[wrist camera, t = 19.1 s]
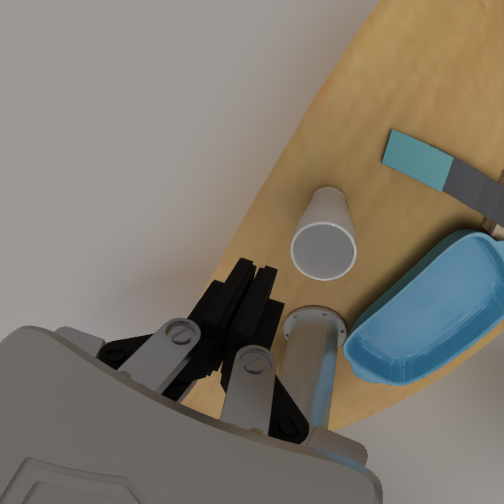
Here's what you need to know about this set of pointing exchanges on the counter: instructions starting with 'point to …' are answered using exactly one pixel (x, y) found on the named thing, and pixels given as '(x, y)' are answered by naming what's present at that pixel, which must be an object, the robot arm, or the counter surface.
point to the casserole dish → (431, 311)
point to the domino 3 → (499, 212)
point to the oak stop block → (490, 225)
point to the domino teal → (417, 160)
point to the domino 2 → (489, 198)
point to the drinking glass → (325, 237)
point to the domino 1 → (463, 182)
